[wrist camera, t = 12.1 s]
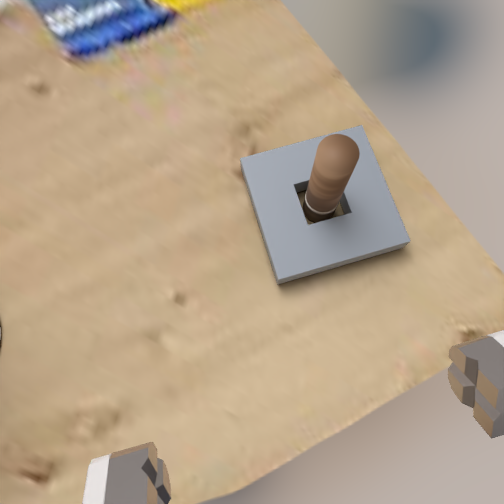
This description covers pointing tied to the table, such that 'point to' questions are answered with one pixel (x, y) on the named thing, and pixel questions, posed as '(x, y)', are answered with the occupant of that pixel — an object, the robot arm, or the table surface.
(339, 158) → the peg
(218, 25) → the table surface
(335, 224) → the socket board
